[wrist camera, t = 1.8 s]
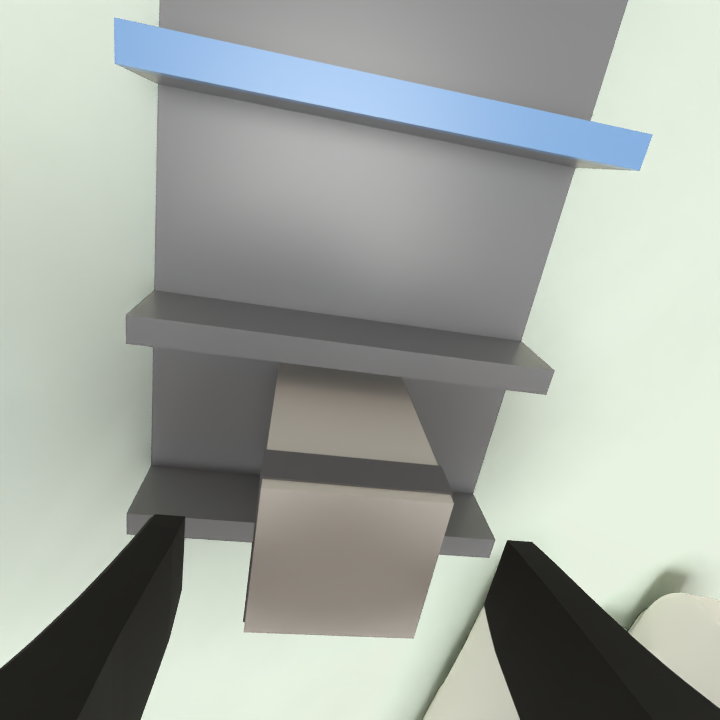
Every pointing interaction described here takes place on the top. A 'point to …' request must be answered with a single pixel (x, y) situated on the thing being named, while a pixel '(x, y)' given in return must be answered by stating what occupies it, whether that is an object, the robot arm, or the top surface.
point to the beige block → (344, 509)
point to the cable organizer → (651, 629)
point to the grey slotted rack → (354, 220)
